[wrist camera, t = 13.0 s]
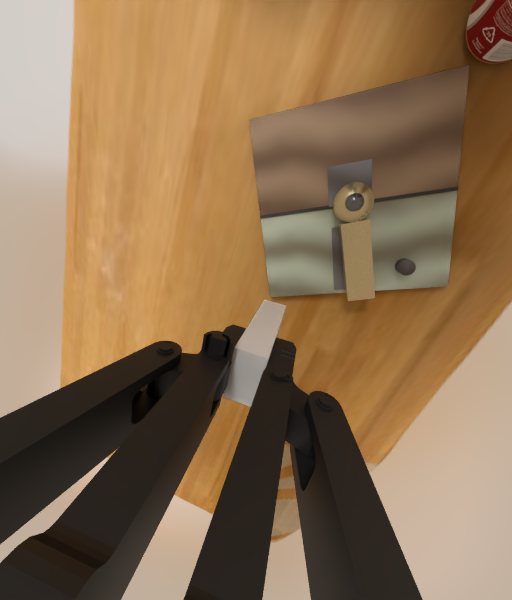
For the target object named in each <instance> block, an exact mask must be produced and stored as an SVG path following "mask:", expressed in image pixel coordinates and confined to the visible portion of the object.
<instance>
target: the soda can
mask: <svg viewBox="0 0 512 600" xmlns="http://www.w3.org/2000/svg"><path fill="white" fill-rule="evenodd" d="M466 42H467V46H468V49H469V51H470V52H471V54H472V55H473V56H474V57H475V58H476V59H478V60H479V61H481V62H484V63H488V64H500V63H504V62H508V61H510V60H512V0H476V2H475V3H474V5H473V7H472V9H471V12H470V14H469V17H468V20H467V25H466Z"/></svg>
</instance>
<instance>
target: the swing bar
mask: <svg viewBox="0 0 512 600" xmlns="http://www.w3.org/2000/svg"><path fill="white" fill-rule="evenodd" d="M373 205H374V195H373V192H372V190H371V189H370V187H369V186H367V185H366V184H364V183H361V182H353V183H349V184H347V185H345V186H344V187H343V188H342V189H340V191H339V192H338V193H337V194H336V196H335V198H334V200H333V212H334V214H335V215H336V217H337V218H338V219H340V220H342V221H345V222H346V223H341V224H339V234H340V244H341V255H342V265H343V276H344V286H345V295H346V297H347V300H348V301H354V300H363V299H373V298H375V290H374V274H373V257H372V241H371V224H370V219H364V218H365V217H366V216H367V215H368V214H369V213H370V211H371V210H372V208H373Z"/></svg>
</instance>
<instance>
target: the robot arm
mask: <svg viewBox="0 0 512 600" xmlns="http://www.w3.org/2000/svg"><path fill="white" fill-rule="evenodd" d="M285 308H286V306H285V305H282V304H279V303H275V302H272V301H268V300H265V299H264V301H263V303H262V304H261V306H260V307H259V309H258V311H257V312H256V314H255V315H254V317H253V319H252V320H251V322H250V324H249V325H248V327H247V328H243V327H239V326H236V325H231V326H229V327H227V328H226V329H225V330H224V331H223V332H220V331H210V332H207V333H205V334H204V338H203V344H202V350H201V351H200V353H199V354H188V353H181V352H182V349H181V346H180V345H178V344H177V343H175V342H172V341H159V342H156V343H153V344H151V345H149V346H147V347H145V348H143V349H141V350H139V351H137V352H135V353H133V354H131V355H129V356H127V357H125V358H122V359H120V360H118V361H116V362H114V363H112V364H110V365H108V366H106V367H104V368H102V369H100V370H98V371H96V372H94V373H92V374H90V375H88V376H85V377H83V378H81V379H79V380H77V381H75V382H73V383H71V384H69V385H67V386H65V387H63V388H61V389H59V390H57V391H55V392H53V393H51V394H48V395H46V396H44V397H42V398H40V399H38V400H36V401H34V402H32V403H30V404H28V405H26V406H24V407H22V408H20V409H18V410H16V411H14V412H11V413H10V414H7V415H5V416H3V417H1V418H0V544H1V543H2V542H4V541H5V540H6V539H7V538H8V537H10V536H11V535H12V534H13V533H15V532H16V531H17V530H18V529H20V528H21V527H22V526H23V525H24V524H26V523H27V522H28V521H29V520H30V519H32V518H33V517H34V516H35V515H36V514H38V513H39V512H40V511H42V510H43V509H44V508H45V507H46V506H48V505H49V504H50V503H51V502H53V501H54V500H55V499H56V498H57V497H59V496H60V495H61V494H62V493H63V492H65V491H66V490H67V489H68V488H70V487H71V486H72V485H73V484H75V483H76V482H77V481H78V480H79V479H81V478H82V477H83V476H84V475H86V474H87V473H88V472H89V471H90V470H92V469H93V468H94V467H95V466H96V465H98V464H99V463H100V462H101V461H103V460H104V459H105V458H106V457H108V456H109V455H110V454H111V453H112V452H114V451H115V450H116V449H117V448H118V449H117V450H116V451H115V453H114V454H113V455H112V456H111V457H110V459H109V460H108V461H107V462H106V463H105V464H104V466H103V467H102V468H101V469H100V470H99V472H98V473H97V474H96V475H95V476H94V478H93V479H92V480H91V481H90V482H89V483H88V485H87V486H86V487H85V488H84V489H83V490H82V492H81V493H80V494H79V495H78V496H77V498H76V499H75V500H74V501H73V502H72V503H71V505H70V506H69V507H68V508H67V509H66V510H65V512H64V513H63V514H62V515H61V516H60V517H59V519H58V520H57V521H56V522H55V523H54V524H53V525H52V526H51V527H50V528H49V529H48V530H46V531H45V532H44V533H41V534H38V535H35V536H31V537H29V538H28V539H27V540H25V541H24V542H22V543H21V544H20V545H18V546H17V547H16V548H15V549H14V550H13V551H12V552H11V553H10V554H9V555H8V556H7V557H6V558H5V559H4V560H3V561H2V562H1V563H0V600H121V598H122V596H123V594H124V592H125V590H126V588H127V586H128V584H129V582H130V580H131V579H132V577H133V575H134V573H135V571H136V569H137V567H138V565H139V563H140V561H141V559H142V557H143V555H144V553H145V551H146V549H147V547H148V545H149V543H150V541H151V539H152V537H153V535H154V533H155V531H156V529H157V527H158V525H159V523H160V521H161V519H162V518H163V516H164V514H165V512H166V510H167V508H168V506H169V504H170V502H171V500H172V498H173V496H174V494H175V492H176V490H177V488H178V486H179V484H180V482H181V480H182V478H183V476H184V474H185V472H186V470H187V468H188V466H189V464H190V462H191V460H192V458H193V456H194V454H195V452H196V451H197V449H198V447H199V445H200V443H201V441H202V439H203V437H204V435H205V433H206V431H207V429H208V427H209V425H210V423H211V421H212V419H213V417H214V415H215V413H216V411H217V409H218V407H219V405H220V401H221V396H222V395H223V393H224V396H223V397H225V398H227V399H230V400H233V401H236V402H238V403H241V404H244V405H247V406H249V407H251V408H250V411H249V414H248V416H247V419H246V422H245V425H244V428H243V431H242V434H241V437H240V439H239V442H238V445H237V448H236V451H235V454H234V457H233V460H232V462H231V465H230V468H229V471H228V474H227V477H226V480H225V483H224V485H223V488H222V491H221V494H220V497H219V500H218V503H217V506H216V509H215V511H214V514H213V517H212V520H211V523H210V526H209V529H208V532H207V534H206V537H205V540H204V543H203V546H202V549H201V552H200V555H199V558H198V560H197V563H196V566H195V569H194V572H193V575H192V578H191V581H190V583H189V586H188V589H187V592H186V595H185V597H184V600H262V597H263V590H264V583H265V576H266V569H267V562H268V555H269V548H270V541H271V534H272V527H273V520H274V513H275V506H276V499H277V492H278V485H279V478H280V471H281V464H282V457H283V450H284V443H285V440H286V441H287V442H288V443H290V453H291V460H292V467H293V474H294V481H295V489H296V496H297V503H298V510H299V517H300V524H301V530H302V537H303V545H304V552H305V559H306V566H307V573H308V581H309V588H310V595H311V600H422V597H421V595H420V593H419V590H418V588H417V585H416V583H415V581H414V578H413V576H412V574H411V571H410V569H409V566H408V564H407V562H406V559H405V557H404V555H403V552H402V550H401V547H400V545H399V543H398V540H397V538H396V536H395V533H394V531H393V528H392V526H391V524H390V521H389V519H388V517H387V514H386V512H385V509H384V507H383V505H382V502H381V500H380V498H379V495H378V493H377V491H376V488H375V486H374V483H373V481H372V478H371V476H370V474H369V471H368V469H367V467H366V464H365V462H364V459H363V457H362V455H361V452H360V450H359V448H358V445H357V443H356V440H355V438H354V436H353V433H352V431H351V429H350V426H349V424H348V421H347V419H346V417H345V414H344V412H343V410H342V407H341V405H340V404H339V402H338V401H337V400H336V399H335V398H334V397H332V396H331V395H329V394H327V393H324V392H321V391H314V392H312V393H310V395H308V394H306V393H305V392H303V391H302V390H300V389H299V388H298V387H297V386H296V385H295V383H294V382H293V377H292V374H293V367H294V361H295V354H296V347H295V345H294V343H292V342H289V341H286V340H283V339H279V338H277V335H278V332H279V328H280V325H281V322H282V318H283V315H284V311H285ZM224 391H225V392H224Z"/></svg>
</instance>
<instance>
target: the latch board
mask: <svg viewBox="0 0 512 600" xmlns="http://www.w3.org/2000/svg"><path fill="white" fill-rule="evenodd" d="M469 66H470V64H469V65H465V66H461V67H457V68H453V69H449V70H445V71H441V72H437V73H433V74H429V75H426V76H422V77H418V78H414V79H410V80H406V81H402V82H398V83H394V84H390V85H386V86H382V87H378V88H374V89H370V90H366V91H362V92H358V93H354V94H350V95H346V96H342V97H338V98H334V99H330V100H326V101H322V102H318V103H314V104H310V105H306V106H302V107H298V108H294V109H290V110H286V111H282V112H278V113H274V114H271V115H267V116H263V117H259V118H255V119H251V120H249V123H250V132H251V140H252V149H253V157H254V165H255V174H256V182H257V191H258V199H259V208H260V217H261V224H262V233H263V241H264V250H265V258H266V266H267V275H268V283H269V292H270V297H280V296H296V295H313V294H330V293H345V286H344V276H343V265H342V255H341V244H340V234H339V224H341V223H346V222H345V221H342V220H340V219H338V218H337V217H336V215H335V214H334V212H333V200H334V198H335V196H336V194H337V193H338V192H339V191H340V189H342V188H343V187H344V186H345V185H347V184H349V183H353V182H361V183H364V184H366V185H367V186H369V187H370V189H371V190H372V192H373V195H374V205H373V208H372V210H371V211H370V213H369V214H368V215H367V216H366V217H365V218H364V219H370V224H371V241H372V257H373V274H374V290H375V291H380V290H397V289H414V288H431V287H447V286H448V281H449V271H450V261H451V251H452V240H453V230H454V220H455V210H456V200H457V191H458V179H459V169H460V159H461V148H462V138H463V128H464V118H465V107H466V97H467V87H468V77H469Z"/></svg>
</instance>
